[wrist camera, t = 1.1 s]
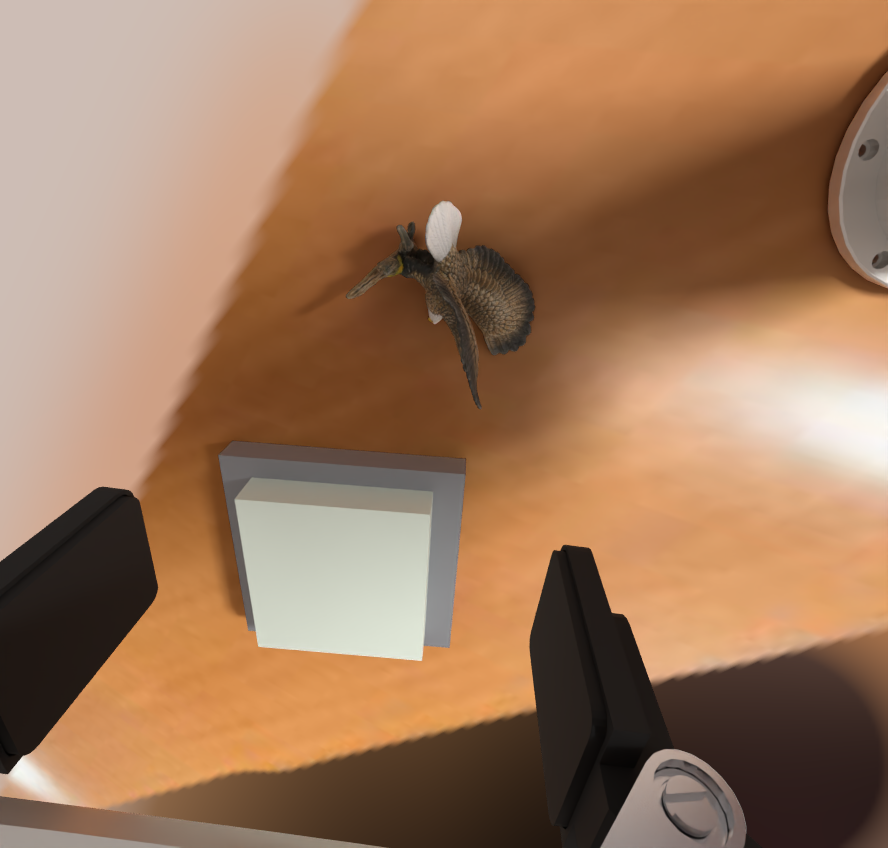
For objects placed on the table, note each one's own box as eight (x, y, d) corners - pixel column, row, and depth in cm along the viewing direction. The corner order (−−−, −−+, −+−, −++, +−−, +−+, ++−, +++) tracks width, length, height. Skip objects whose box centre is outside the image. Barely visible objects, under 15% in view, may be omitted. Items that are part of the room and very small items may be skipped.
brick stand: (465, 455, 32) (465, 496, 28) (450, 621, 39) (448, 676, 35) (235, 437, 33) (198, 475, 28) (260, 605, 40) (234, 658, 35)
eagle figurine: (346, 322, 27) (465, 422, 28) (341, 267, 20) (500, 403, 21) (429, 232, 29) (540, 329, 29) (452, 152, 22) (597, 282, 22)
